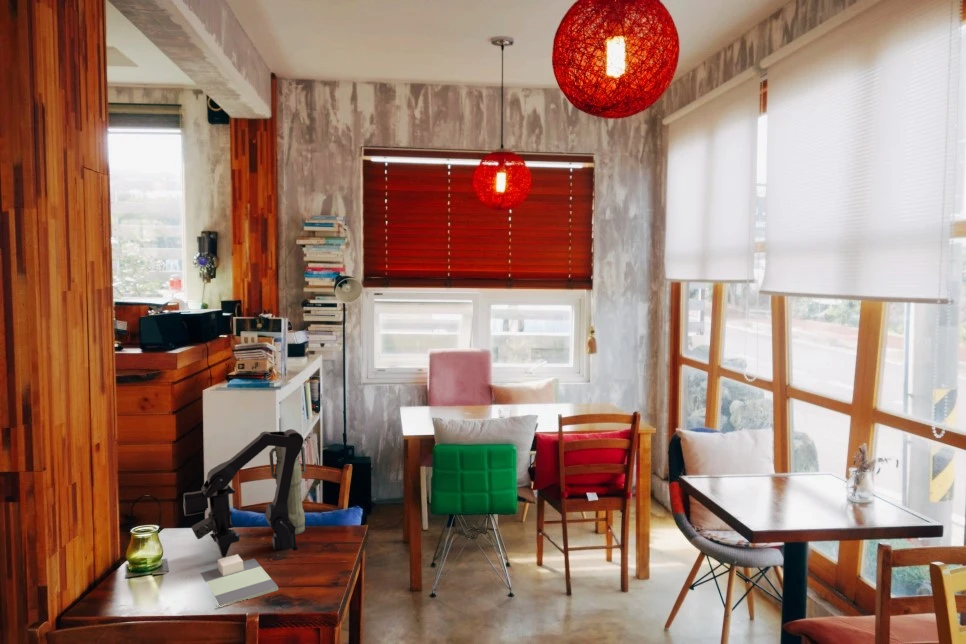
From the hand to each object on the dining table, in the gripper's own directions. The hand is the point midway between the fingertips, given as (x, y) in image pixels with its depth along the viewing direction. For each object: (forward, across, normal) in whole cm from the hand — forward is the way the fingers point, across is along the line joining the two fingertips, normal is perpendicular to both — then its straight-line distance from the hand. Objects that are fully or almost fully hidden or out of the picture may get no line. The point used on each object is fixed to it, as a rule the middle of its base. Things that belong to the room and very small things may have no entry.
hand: (223, 556), depth 214 cm
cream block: (+1, +8, 0) cm, 8 cm away
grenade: (+2, -12, +26) cm, 29 cm away
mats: (+2, +17, 0) cm, 17 cm away
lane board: (+2, +17, 0) cm, 17 cm away
